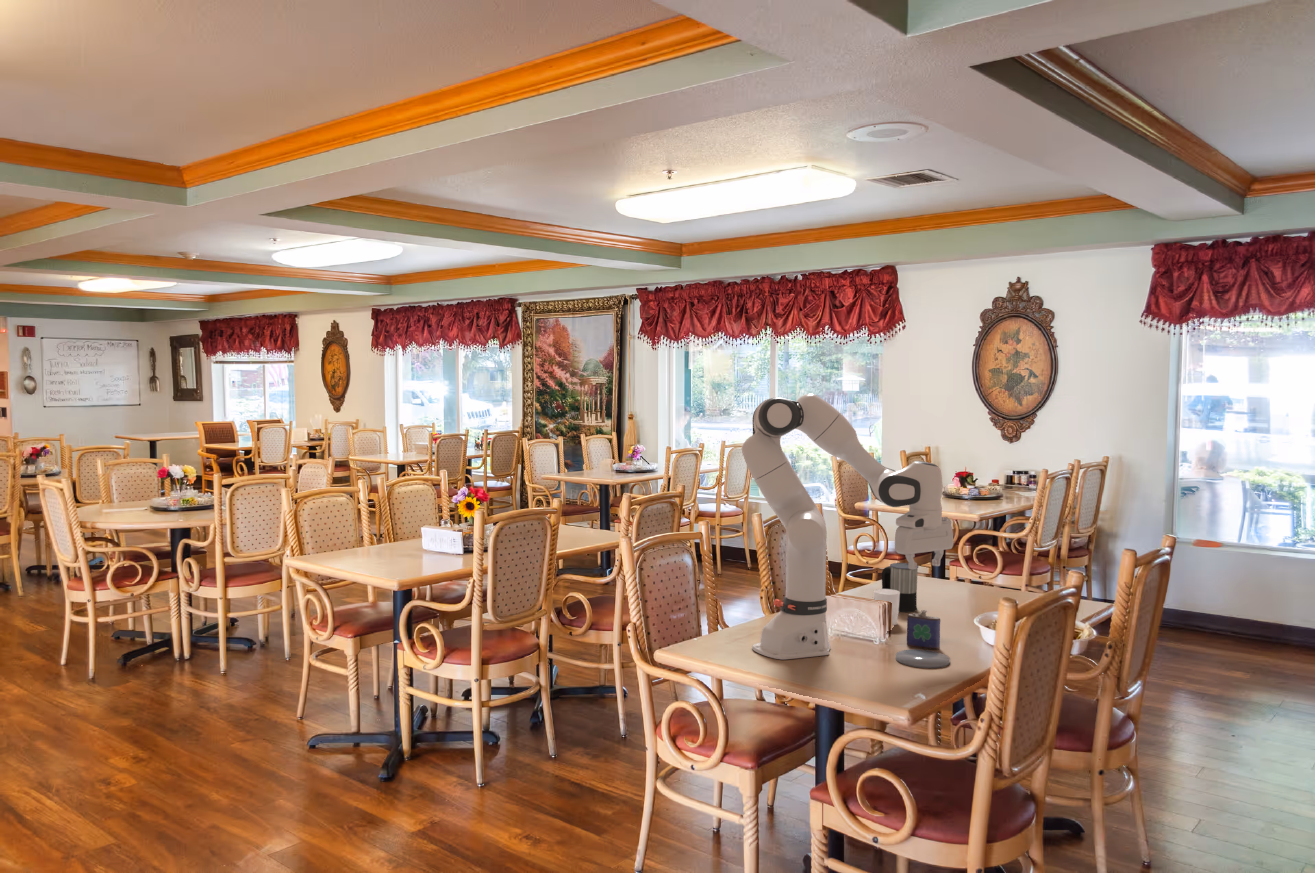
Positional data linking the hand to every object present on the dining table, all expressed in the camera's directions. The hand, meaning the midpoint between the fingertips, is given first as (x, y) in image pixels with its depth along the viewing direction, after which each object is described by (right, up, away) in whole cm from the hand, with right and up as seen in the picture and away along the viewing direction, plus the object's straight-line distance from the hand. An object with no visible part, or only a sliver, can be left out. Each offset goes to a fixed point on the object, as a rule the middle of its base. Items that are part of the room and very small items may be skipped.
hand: (924, 567), depth 260 cm
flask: (0, -23, +1) cm, 23 cm away
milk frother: (+3, -21, +46) cm, 51 cm away
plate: (-4, -23, -12) cm, 27 cm away
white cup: (-4, -22, +28) cm, 36 cm away
